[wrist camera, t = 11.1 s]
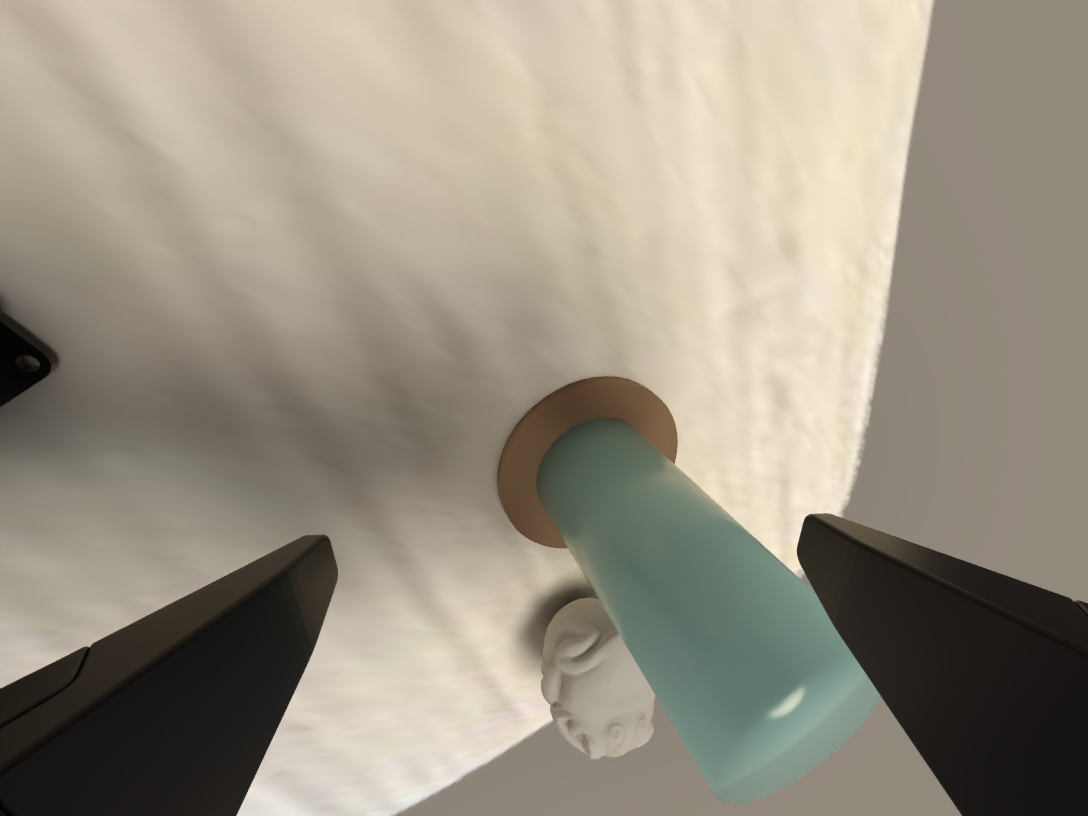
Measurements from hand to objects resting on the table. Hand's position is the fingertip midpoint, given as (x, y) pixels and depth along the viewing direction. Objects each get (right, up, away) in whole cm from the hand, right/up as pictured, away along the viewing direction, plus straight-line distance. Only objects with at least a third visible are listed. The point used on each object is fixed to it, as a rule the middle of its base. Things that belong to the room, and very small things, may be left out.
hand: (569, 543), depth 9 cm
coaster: (+2, 0, +14) cm, 14 cm away
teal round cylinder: (+2, 0, +14) cm, 14 cm away
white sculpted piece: (+1, -9, +19) cm, 21 cm away
